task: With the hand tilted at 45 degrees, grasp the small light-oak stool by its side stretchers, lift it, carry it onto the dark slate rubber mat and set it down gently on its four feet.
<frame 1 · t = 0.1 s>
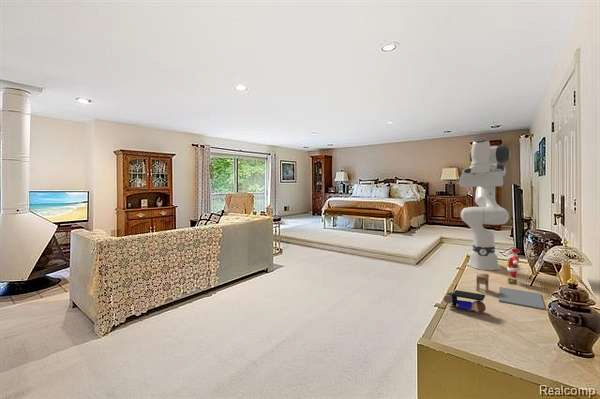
hand: (480, 194, 154), 48 cm above the cabinet, tool pointing down, fingers open, 8 cm apart
stool: (482, 290, 143), on the cabinet
mat: (520, 298, 132), on the cabinet
santa figurine: (513, 282, 153), on the cabinet
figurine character: (464, 309, 122), on the cabinet
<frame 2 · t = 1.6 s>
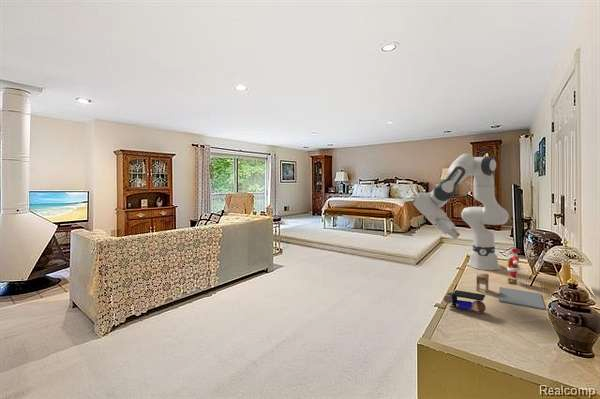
hand: (458, 237, 148), 26 cm above the cabinet, tool tilted 45°, fingers open, 8 cm apart
nothing on the cabinet moved.
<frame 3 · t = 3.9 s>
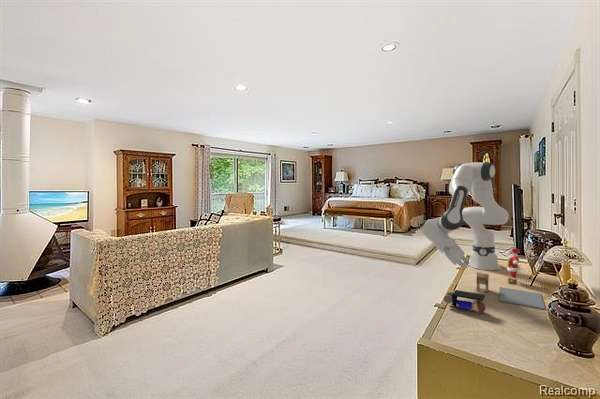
hand: (467, 266, 146), 11 cm above the cabinet, tool tilted 45°, fingers open, 8 cm apart
nothing on the cabinet moved.
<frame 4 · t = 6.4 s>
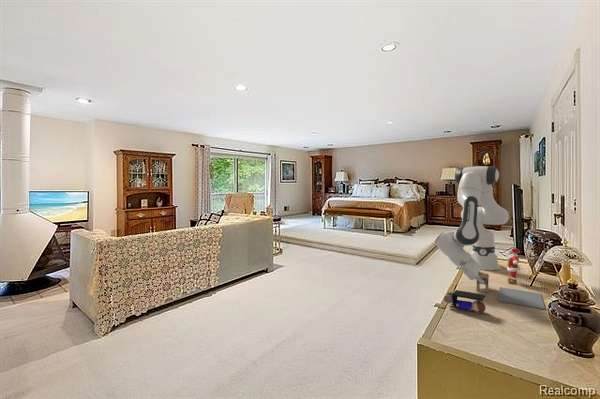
hand: (484, 281, 142), 5 cm above the cabinet, tool tilted 45°, fingers closed on stool, 5 cm apart
stool: (482, 290, 143), on the cabinet, touching gripper
everything else where it was.
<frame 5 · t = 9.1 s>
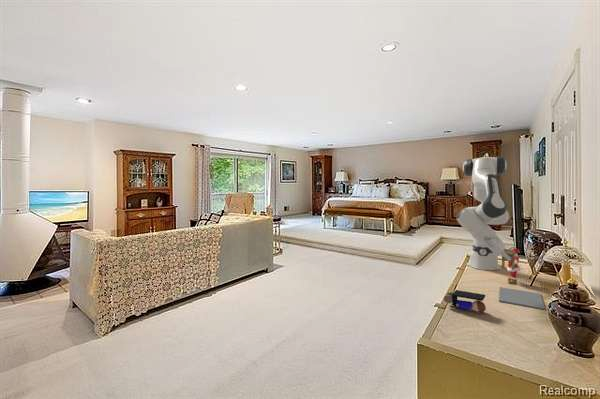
hand: (510, 258, 134), 18 cm above the cabinet, tool tilted 45°, fingers closed on stool, 5 cm apart
stool: (508, 267, 135), point 14 cm above the cabinet, touching gripper
everything else where it was.
when the fingers open (7 cm above the cabinet, at t = 12.1 s): stool drops 1 cm, resting on mat.
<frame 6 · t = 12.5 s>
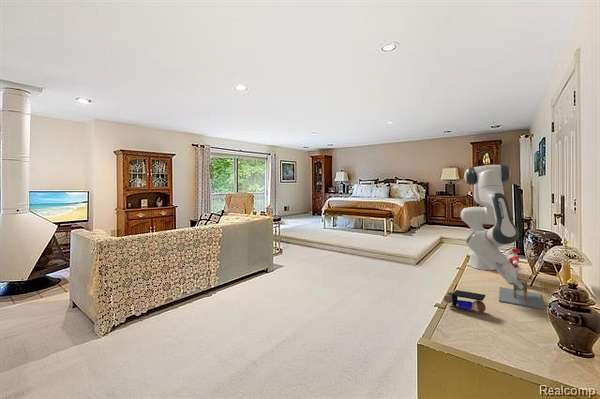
hand: (522, 284, 131), 7 cm above the cabinet, tool tilted 45°, fingers open, 8 cm apart
stool: (520, 296, 132), point 1 cm above the cabinet, touching mat
everything else where it was.
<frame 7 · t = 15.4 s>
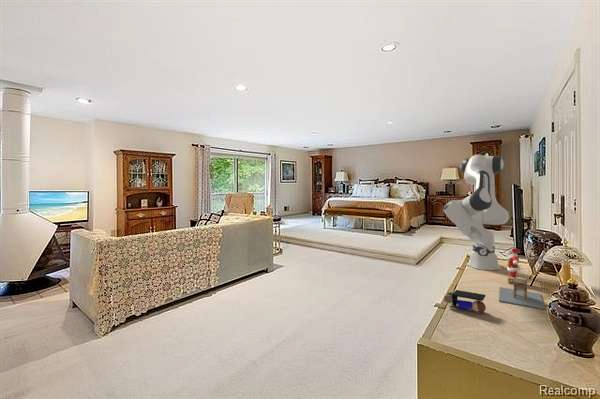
hand: (489, 249, 141), 21 cm above the cabinet, tool tilted 40°, fingers open, 8 cm apart
nothing on the cabinet moved.
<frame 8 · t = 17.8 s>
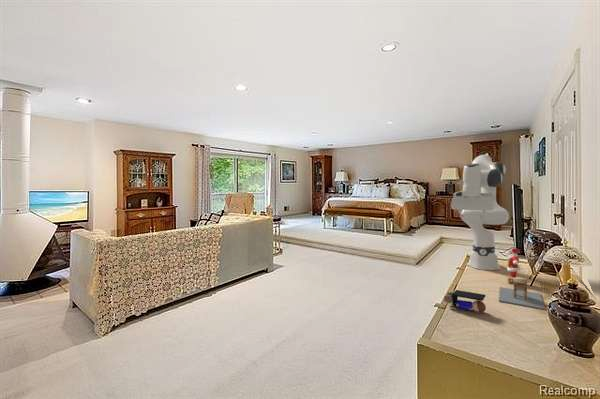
hand: (471, 218, 156), 35 cm above the cabinet, tool pointing down, fingers open, 8 cm apart
nothing on the cabinet moved.
at the end: stool inside the target area on the mat (0.2 cm from its centre), point 0.6 cm above the mat's base; stool tilted 0°; the gripper is holding nothing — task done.
